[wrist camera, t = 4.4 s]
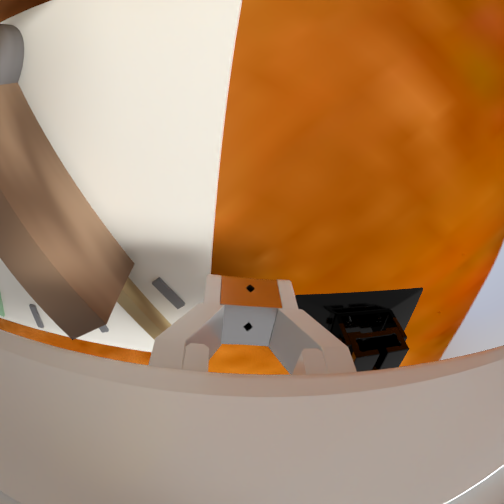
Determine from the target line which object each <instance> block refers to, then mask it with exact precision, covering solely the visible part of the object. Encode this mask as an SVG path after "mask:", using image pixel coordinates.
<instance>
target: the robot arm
mask: <svg viewBox="0 0 504 504" xmlns="http://www.w3.org/2000/svg"><path fill="white" fill-rule="evenodd" d="M221 344H245V345H259V346H269V348H270V350H271V351H272V352H273V353H274V355H275V356H276V357H277V358H278V360H279V361H280V362H281V363H282V365H283V366H284V367H285V368H286V370H287V371H288V372H289V373H290V375H253V374H229V373H213V372H208V362H209V359H210V358H211V357H212V356H213V354H214V353H215V352H216V351H217V349H218V348H219V347H220V346H221ZM0 504H504V345H503V346H500V347H497V348H492V349H489V350H485V351H481V352H477V353H473V354H469V355H464V356H460V357H455V358H450V359H445V360H440V361H435V362H429V363H423V364H417V365H411V366H404V367H396V368H389V369H380V370H371V371H361V372H357V371H356V368H355V365H354V362H353V359H352V357H351V354H350V351H349V348H348V347H347V346H346V345H345V344H344V343H342V342H341V341H340V340H339V339H338V338H336V337H335V336H334V335H333V334H331V333H330V332H329V331H328V330H327V329H325V328H324V327H323V326H322V325H321V324H319V323H318V322H317V321H316V320H314V319H313V318H312V317H311V316H310V315H308V314H307V313H306V312H305V311H304V310H302V309H298V305H297V302H296V298H295V294H294V291H293V287H292V283H291V281H290V280H267V279H251V278H243V277H233V276H224V275H222V278H221V275H212V274H207V276H206V284H205V291H204V299H203V303H198V304H197V305H196V306H195V307H193V308H192V309H191V310H190V311H188V312H187V313H186V314H185V315H183V316H182V317H181V318H180V319H178V320H177V321H176V322H175V323H173V324H172V325H171V326H170V327H169V328H167V329H166V330H165V331H164V332H162V333H161V334H160V335H159V336H157V337H156V338H155V342H154V345H153V349H152V353H151V357H150V362H149V365H142V364H135V363H129V362H123V361H118V360H112V359H107V358H102V357H97V356H93V355H88V354H83V353H79V352H75V351H71V350H67V349H63V348H59V347H55V346H51V345H48V344H44V343H41V342H37V341H34V340H31V339H27V338H24V337H21V336H18V335H15V334H12V333H9V332H6V331H3V330H0Z"/></svg>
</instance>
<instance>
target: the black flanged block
mask: <svg viewBox="0 0 504 504" xmlns="http://www.w3.org/2000/svg"><path fill="white" fill-rule="evenodd" d="M422 291H423V288H412V289H399V290H386V291H370V292H353V293H334V294H310V295H296V296H295V298H296V302H297V305H298V309H302V310H304V311H305V312H306V313H307V314H308V315H310V316H311V317H312V318H313V319H314V320H316V321H317V322H318V323H319V324H321V325H322V326H323V327H324V328H325V329H327V330H328V331H329V332H330V333H331V334H333V335H334V336H335V337H336V338H338V339H339V340H340V341H341V342H342V343H344V344H345V345H346V346H347V347H348V348H349V351H350V354H351V357H352V359H353V362H354V365H355V368H356V371H357V372H361V371H371V370H380V369H389V368H396V367H399V365H400V364H401V362H402V360H403V358H404V357H405V355H406V353H407V351H408V350H409V348H408V346H407V344H406V342H405V341H406V339H407V336H406V334H405V332H404V330H405V328H406V326H407V324H408V322H409V320H410V317H411V315H412V313H413V311H414V309H415V307H416V304H417V302H418V300H419V298H420V295H421V293H422Z"/></svg>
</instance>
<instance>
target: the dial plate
mask: <svg viewBox="0 0 504 504" xmlns="http://www.w3.org/2000/svg"><path fill="white" fill-rule="evenodd" d="M241 5H242V0H51V1H49V2H46V3H43V4H40V5H38V6H35V7H33V8H30V9H28V10H26V11H23V12H21V13H19V14H17V15H15V16H12V17H10V18H8V19H6V20H4V21H2V22H0V24H9V25H13V26H15V27H17V28H18V29H19V30H20V32H21V34H22V37H23V41H24V61H23V67H22V71H21V75H20V78H19V81H18V84H19V86H20V88H21V90H22V92H23V94H24V96H25V98H26V100H27V102H28V104H29V106H30V108H31V110H32V112H33V114H34V115H35V117H36V119H37V121H38V123H39V125H40V126H41V128H42V130H43V132H44V133H45V135H46V137H47V139H48V140H49V142H50V144H51V145H52V147H53V149H54V150H55V152H56V154H57V155H58V157H59V159H60V160H61V162H62V163H63V165H64V167H65V168H66V170H67V171H68V173H69V174H70V176H71V177H72V179H73V180H74V182H75V183H76V185H77V186H78V188H79V189H80V191H81V192H82V194H83V195H84V197H85V198H86V200H87V201H88V203H89V204H90V205H91V207H92V208H93V210H94V211H95V212H96V214H97V215H98V217H99V218H100V219H101V221H102V222H103V223H104V225H105V226H106V228H107V229H108V230H109V232H110V233H111V234H112V236H113V237H114V238H115V239H116V241H117V242H118V243H119V245H120V246H121V247H122V249H123V250H124V251H125V252H126V254H127V255H128V256H129V257H130V259H131V260H132V261H133V262H134V266H133V268H132V270H131V272H130V274H129V276H128V277H129V278H130V279H131V280H132V282H133V283H134V284H135V285H136V286H137V287H138V289H139V290H140V291H141V292H142V293H143V294H144V295H145V297H146V298H147V299H148V300H149V301H150V302H151V303H152V304H153V305H154V307H155V308H156V309H157V310H158V311H159V312H160V313H161V314H162V315H163V316H164V317H165V318H166V319H167V320H168V322H169V323H170V324H171V325H172V324H173V323H175V322H176V321H177V320H178V319H180V318H181V317H182V316H183V315H185V314H186V313H187V312H188V311H190V310H191V309H192V308H193V307H195V306H196V305H197V304H198V303H203V299H204V291H205V284H206V276H207V274H211V263H212V248H213V235H214V222H215V210H216V199H217V188H218V177H219V167H220V157H221V148H222V139H223V130H224V122H225V113H226V105H227V97H228V90H229V82H230V75H231V68H232V61H233V54H234V48H235V41H236V35H237V28H238V22H239V16H240V11H241ZM0 318H3V319H6V320H9V321H12V322H15V323H18V324H22V325H25V326H29V327H32V328H36V329H39V330H43V331H47V332H51V333H55V334H59V335H63V336H67V337H69V336H68V335H67V334H66V333H65V332H64V331H63V330H62V329H61V328H60V327H59V326H58V325H57V324H56V323H55V322H54V321H53V320H52V319H51V318H50V317H49V316H48V315H47V314H46V313H45V312H44V311H43V310H42V308H41V307H40V306H39V305H38V304H37V303H36V302H35V301H34V300H33V298H32V297H31V296H30V295H29V294H28V293H27V291H26V290H25V289H24V288H23V287H22V286H21V284H20V283H19V282H18V281H17V279H16V278H15V277H14V276H13V274H12V273H11V272H10V270H9V269H8V268H7V267H6V265H5V264H4V263H3V261H2V260H1V258H0ZM76 339H81V340H85V341H90V342H95V343H100V344H105V345H111V346H116V347H122V348H128V349H134V350H141V351H148V352H152V349H153V345H154V342H155V340H154V339H153V338H152V337H151V336H150V335H149V334H148V333H147V332H146V331H145V330H144V329H143V328H142V327H141V326H140V325H139V324H138V323H137V322H136V321H135V320H134V319H133V318H132V317H131V316H130V315H129V314H128V313H127V312H126V311H125V310H124V309H123V308H122V307H121V306H120V305H119V303H118V302H116V304H115V306H114V308H113V311H112V313H111V315H110V317H109V320H108V322H107V324H106V325H104V326H102V327H99V328H97V329H95V330H93V331H91V332H89V333H86V334H84V335H82V336H80V337H78V338H76Z"/></svg>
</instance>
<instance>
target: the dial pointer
mask: <svg viewBox="0 0 504 504" xmlns="http://www.w3.org/2000/svg"><path fill="white" fill-rule="evenodd" d="M23 61H24V41H23V37H22V34H21V32H20V30H19V29H18V28H17V27H15V26H13V25H9V24H0V258H1V260H2V261H3V263H4V264H5V265H6V267H7V268H8V269H9V270H10V272H11V273H12V274H13V276H14V277H15V278H16V279H17V281H18V282H19V283H20V284H21V286H22V287H23V288H24V289H25V290H26V291H27V293H28V294H29V295H30V296H31V297H32V298H33V300H34V301H35V302H36V303H37V304H38V305H39V306H40V307H41V308H42V310H43V311H44V312H45V313H46V314H47V315H48V316H49V317H50V318H51V319H52V320H53V321H54V322H55V323H56V324H57V325H58V326H59V327H60V328H61V329H62V330H63V331H64V332H65V333H66V334H67V335H68V336H69V337H70V338H71V339H72V340H73V339H76V338H78V337H80V336H82V335H84V334H86V333H89V332H91V331H93V330H95V329H97V328H99V327H102V326H104V325H106V324H107V322H108V320H109V317H110V315H111V313H112V311H113V308H114V306H115V304H116V302H118V303H119V305H120V306H121V307H122V308H123V309H124V310H125V311H126V312H127V313H128V314H129V315H130V316H131V317H132V318H133V319H134V320H135V321H136V322H137V323H138V324H139V325H140V326H141V327H142V328H143V329H144V330H145V331H146V332H147V333H148V334H149V335H150V336H151V337H152V338H153V339H154V340H155V338H156V337H157V336H159V335H160V334H161V333H162V332H164V331H165V330H166V329H167V328H169V327H170V326H171V324H170V323H169V322H168V320H167V319H166V318H165V317H164V316H163V315H162V314H161V313H160V312H159V311H158V310H157V309H156V308H155V307H154V305H153V304H152V303H151V302H150V301H149V300H148V299H147V298H146V297H145V295H144V294H143V293H142V292H141V291H140V290H139V289H138V287H137V286H136V285H135V284H134V283H133V282H132V280H131V279H130V278H129V277H128V276H129V274H130V272H131V270H132V268H133V266H134V262H133V261H132V260H131V259H130V257H129V256H128V255H127V254H126V252H125V251H124V250H123V249H122V247H121V246H120V245H119V243H118V242H117V241H116V239H115V238H114V237H113V236H112V234H111V233H110V232H109V230H108V229H107V228H106V226H105V225H104V223H103V222H102V221H101V219H100V218H99V217H98V215H97V214H96V212H95V211H94V210H93V208H92V207H91V205H90V204H89V203H88V201H87V200H86V198H85V197H84V195H83V194H82V192H81V191H80V189H79V188H78V186H77V185H76V183H75V182H74V180H73V179H72V177H71V176H70V174H69V173H68V171H67V170H66V168H65V167H64V165H63V163H62V162H61V160H60V159H59V157H58V155H57V154H56V152H55V150H54V149H53V147H52V145H51V144H50V142H49V140H48V139H47V137H46V135H45V133H44V132H43V130H42V128H41V126H40V125H39V123H38V121H37V119H36V117H35V115H34V114H33V112H32V110H31V108H30V106H29V104H28V102H27V100H26V98H25V96H24V94H23V92H22V90H21V88H20V86H19V84H18V81H19V78H20V75H21V71H22V67H23Z"/></svg>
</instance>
